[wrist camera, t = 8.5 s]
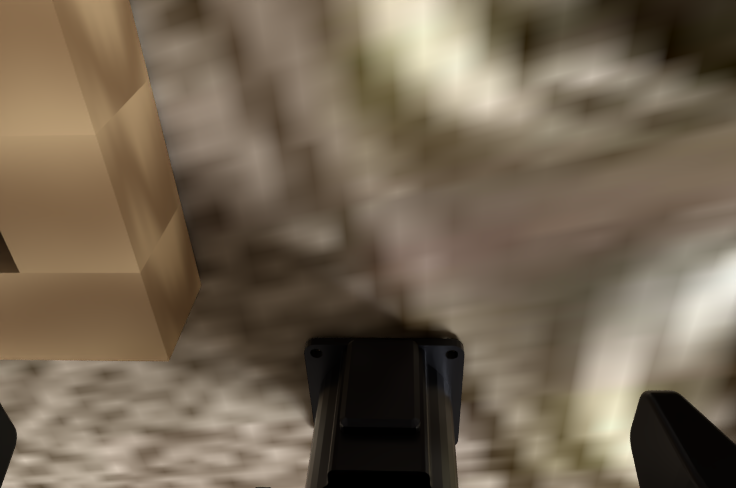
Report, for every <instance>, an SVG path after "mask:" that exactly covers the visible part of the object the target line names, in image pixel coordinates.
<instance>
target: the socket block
mask: <svg viewBox="0 0 736 488" xmlns="http://www.w3.org/2000/svg"><path fill="white" fill-rule="evenodd" d="M200 288H201V282H200V278H199V274H198V270H197V266H196V262H195V258H194V254H193V250H192V246H191V242H190V238H189V234H188V230H187V226H186V222H185V219H184V215H183V211H182V207H181V203H180V199H179V195H178V191H177V187H176V183H175V179H174V175H173V171H172V167H171V163H170V159H169V155H168V152H167V148H166V144H165V140H164V136H163V132H162V128H161V124H160V120H159V116H158V112H157V108H156V104H155V100H154V96H153V92H152V89H151V85H150V81H149V77H148V73H147V69H146V65H145V61H144V57H143V53H142V49H141V45H140V41H139V37H138V33H137V29H136V26H135V22H134V18H133V14H132V10H131V6H130V2H129V0H0V360H98V361H169V360H170V357H171V355H172V353H173V350H174V348H175V346H176V343H177V341H178V339H179V337H180V334H181V332H182V330H183V327H184V325H185V323H186V320H187V318H188V316H189V313H190V311H191V309H192V306H193V304H194V302H195V299H196V297H197V295H198V292H199V290H200Z"/></svg>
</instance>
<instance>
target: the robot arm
mask: <svg viewBox="0 0 736 488" xmlns="http://www.w3.org/2000/svg"><path fill="white" fill-rule="evenodd" d="M314 349H319V350H320V351H316V350H314ZM449 350H454V352H448V351H449ZM304 355H305V362H306V369H307V376H308V384H309V391H310V398H311V405H312V412H313V419H314V432H313V439H312V446H311V453H310V459H309V466H308V473H307V480H306V486H305V488H458V477H457V463H456V450H455V445H456V444H457V442H458V435H459V421H460V407H461V394H462V380H463V366H464V347H463V344H462V343H461V341H459V340H457V339H434V338H312V339H310V340H308V341H307V342H306V346H305V352H304ZM16 440H17V433H16V429H15V427H14V425H13V423H12V422H11V420H10V418H9V417H8V415H7V413H6V412H5V410H4V409H3V407H2V405H1V404H0V488H1V486H2V483H3V480H4V477H5V474H6V472H7V469H8V466H9V463H10V460H11V457H12V455H13V452H14V449H15V446H16ZM630 442H631V449H632V454H633V458H634V463H635V468H636V472H637V477H638V481H639V486H640V488H736V444H734V443H733V442H732V441H731V440H730V439H729V438H728V437H727V436H726V435H725V434H723V433H722V432H721V431H720V430H719V429H718V428H717V427H716V426H715V425H714V424H713V423H711V422H710V421H709V420H708V419H707V418H706V417H705V416H704V415H703V414H702V413H700V412H699V411H698V410H697V409H696V408H695V407H694V406H693V405H692V404H691V403H690V402H688V401H687V400H686V399H685V398H684V397H683V396H682V395H680V394H679V393H677V392H675V391H645V392H644V393H643V394H642V395H641V397H640V399H639V403H638V406H637V410H636V413H635V416H634V420H633V423H632V427H631V432H630ZM256 488H271V487H256Z"/></svg>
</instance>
